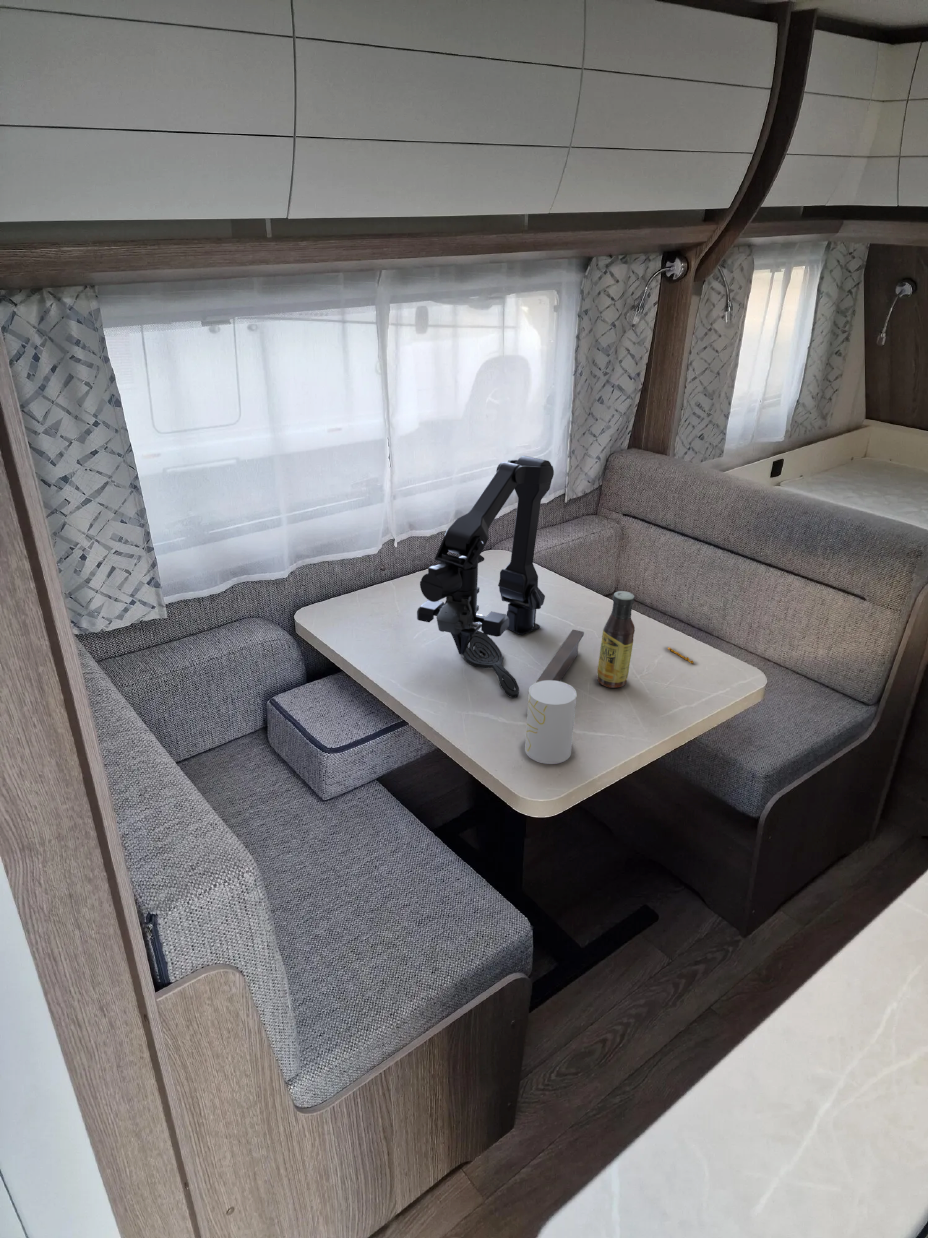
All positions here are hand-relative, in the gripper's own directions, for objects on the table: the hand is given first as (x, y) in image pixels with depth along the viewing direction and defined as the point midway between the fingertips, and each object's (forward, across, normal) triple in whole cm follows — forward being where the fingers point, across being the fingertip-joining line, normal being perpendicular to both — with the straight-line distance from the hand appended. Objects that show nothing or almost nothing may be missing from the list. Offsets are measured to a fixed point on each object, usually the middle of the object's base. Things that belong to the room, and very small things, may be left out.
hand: (461, 653), depth 173 cm
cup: (+2, +27, -24) cm, 36 cm away
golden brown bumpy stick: (+2, +42, +23) cm, 48 cm away
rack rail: (+2, +21, 0) cm, 21 cm away
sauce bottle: (+2, +31, +5) cm, 32 cm away
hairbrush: (+2, +7, 0) cm, 7 cm away
